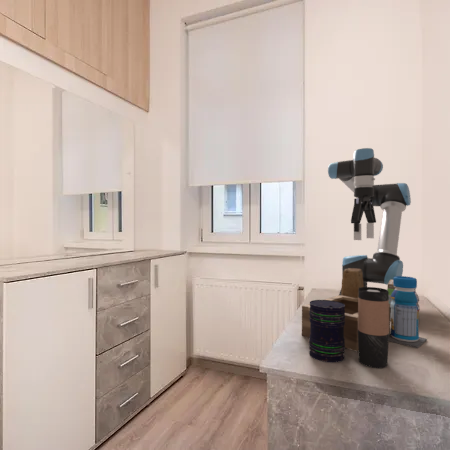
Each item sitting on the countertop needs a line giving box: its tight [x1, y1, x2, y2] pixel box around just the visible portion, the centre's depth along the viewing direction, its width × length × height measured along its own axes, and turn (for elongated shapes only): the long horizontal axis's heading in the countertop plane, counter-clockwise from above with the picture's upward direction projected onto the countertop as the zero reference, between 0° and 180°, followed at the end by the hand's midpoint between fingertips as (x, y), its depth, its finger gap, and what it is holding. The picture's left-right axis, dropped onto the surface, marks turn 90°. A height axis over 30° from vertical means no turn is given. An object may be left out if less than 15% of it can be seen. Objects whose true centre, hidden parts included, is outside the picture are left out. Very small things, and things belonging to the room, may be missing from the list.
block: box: [340, 268, 363, 298], centre depth 131 cm, size 11×8×20 cm
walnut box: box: [301, 294, 391, 352], centre depth 110 cm, size 27×19×10 cm
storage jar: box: [308, 299, 346, 364], centre depth 91 cm, size 10×10×15 cm
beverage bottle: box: [389, 275, 421, 342], centre depth 104 cm, size 8×8×20 cm
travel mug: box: [358, 286, 390, 369], centre depth 87 cm, size 8×8×20 cm
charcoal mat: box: [388, 333, 428, 349], centre depth 104 cm, size 10×10×1 cm
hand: (364, 239), depth 129 cm, fingers open, 13 cm apart
